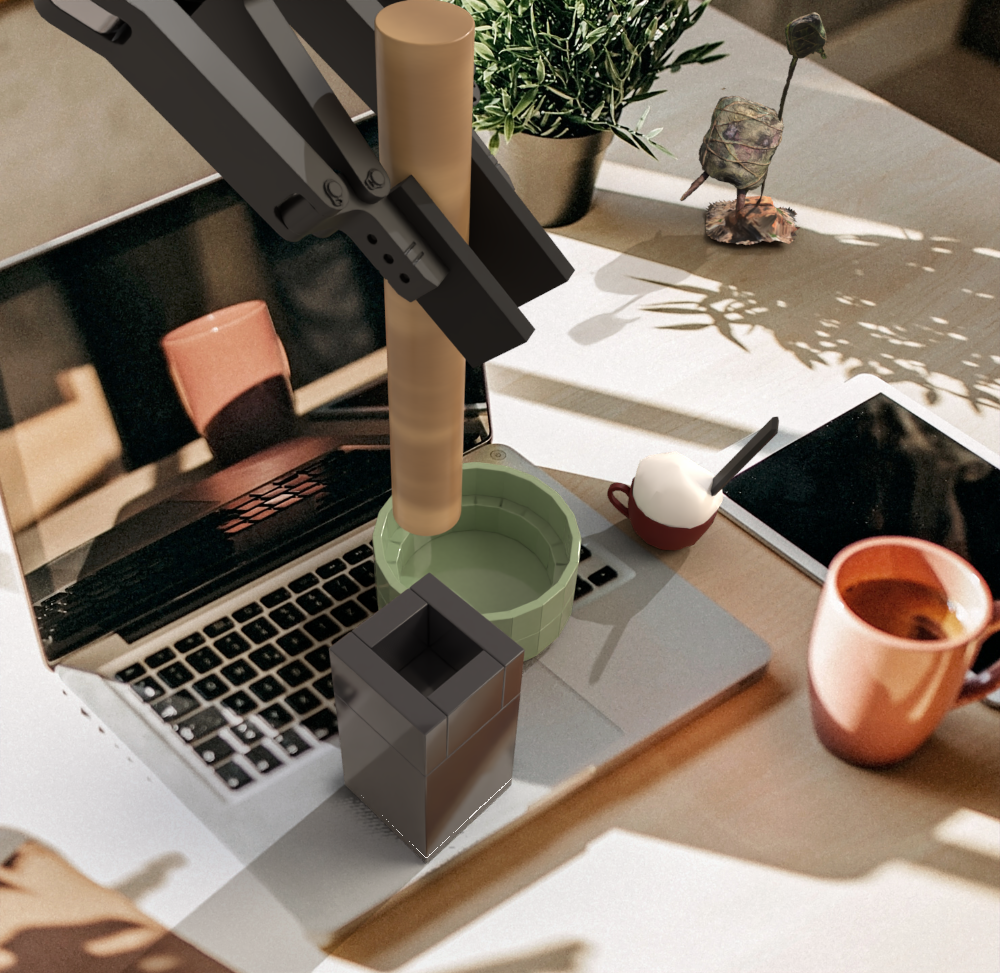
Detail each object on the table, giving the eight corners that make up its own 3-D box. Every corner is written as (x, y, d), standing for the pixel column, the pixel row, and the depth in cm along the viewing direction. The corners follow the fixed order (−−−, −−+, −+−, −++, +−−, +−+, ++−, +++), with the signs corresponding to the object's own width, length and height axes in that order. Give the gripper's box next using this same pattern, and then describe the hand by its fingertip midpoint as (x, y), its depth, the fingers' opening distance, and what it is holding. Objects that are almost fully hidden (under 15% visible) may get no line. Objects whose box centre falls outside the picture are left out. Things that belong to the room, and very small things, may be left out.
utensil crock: (426, 865, 64) (424, 735, 54) (344, 784, 68) (328, 647, 57) (511, 784, 68) (525, 649, 58) (430, 712, 71) (429, 571, 61)
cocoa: (592, 528, 82) (611, 405, 73) (637, 478, 86) (661, 355, 77) (709, 592, 78) (744, 472, 70) (751, 537, 82) (789, 416, 73)
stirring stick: (425, 547, 49) (423, 54, 33) (378, 510, 50) (353, 18, 34) (475, 511, 50) (495, 23, 34) (427, 475, 52) (426, -11, 36)
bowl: (475, 714, 71) (478, 659, 67) (336, 593, 77) (330, 535, 73) (612, 595, 78) (622, 538, 74) (474, 492, 84) (476, 433, 79)
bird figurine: (691, 189, 112) (729, -15, 98) (805, 217, 110) (862, 12, 95) (669, 233, 107) (706, 24, 93) (788, 263, 105) (846, 54, 90)
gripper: (132, -284, 40) (537, 242, 48) (-243, -141, 30) (351, 495, 38) (244, -460, 35) (677, 162, 43) (-163, -360, 25) (505, 431, 33)
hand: (524, 317), depth 40 cm, fingers closed on stirring stick, 3 cm apart
